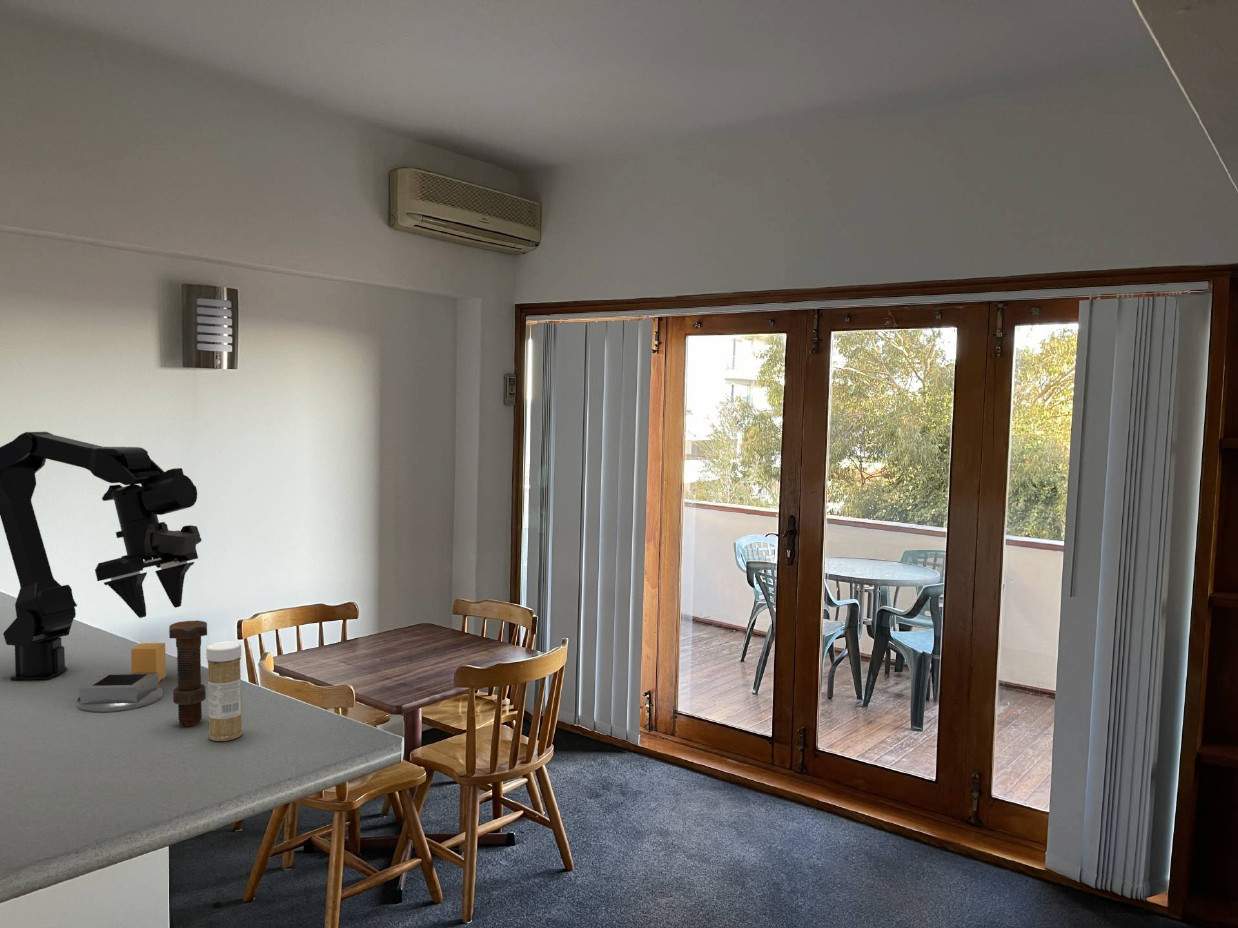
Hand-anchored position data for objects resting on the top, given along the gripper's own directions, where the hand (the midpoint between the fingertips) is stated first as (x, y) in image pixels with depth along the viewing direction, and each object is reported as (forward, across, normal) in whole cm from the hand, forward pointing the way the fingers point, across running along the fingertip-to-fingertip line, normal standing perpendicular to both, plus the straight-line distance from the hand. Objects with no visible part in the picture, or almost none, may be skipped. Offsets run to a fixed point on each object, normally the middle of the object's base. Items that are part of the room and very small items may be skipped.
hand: (160, 611), depth 154 cm
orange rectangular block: (+11, +4, +8) cm, 14 cm away
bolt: (+17, -15, -11) cm, 25 cm away
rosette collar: (+12, -7, +6) cm, 15 cm away
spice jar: (+19, -19, -19) cm, 33 cm away
